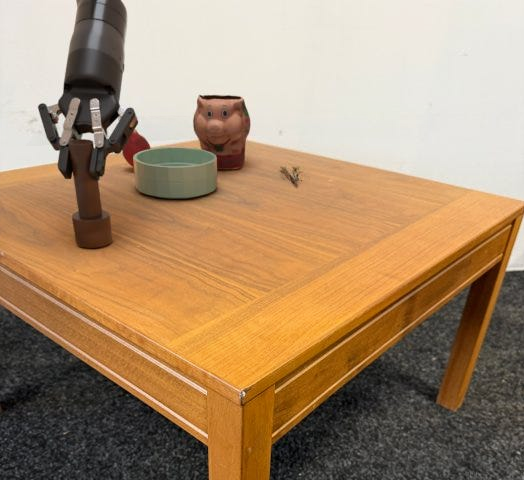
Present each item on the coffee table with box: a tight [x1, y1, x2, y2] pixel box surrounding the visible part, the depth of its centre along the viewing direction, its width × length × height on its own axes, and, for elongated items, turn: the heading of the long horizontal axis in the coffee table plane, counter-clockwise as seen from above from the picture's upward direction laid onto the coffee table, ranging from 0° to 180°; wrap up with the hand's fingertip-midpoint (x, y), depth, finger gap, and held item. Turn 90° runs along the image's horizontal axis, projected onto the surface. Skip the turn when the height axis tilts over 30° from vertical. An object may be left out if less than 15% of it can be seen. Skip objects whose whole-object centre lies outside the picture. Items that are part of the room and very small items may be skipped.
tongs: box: [279, 165, 301, 189], centre depth 113 cm, size 4×13×2 cm, turn 8°
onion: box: [121, 128, 152, 168], centre depth 113 cm, size 6×6×8 cm
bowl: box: [133, 146, 218, 200], centre depth 103 cm, size 15×15×6 cm
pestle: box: [68, 138, 113, 249], centre depth 77 cm, size 5×5×14 cm
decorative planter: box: [192, 94, 251, 170], centre depth 118 cm, size 20×12×14 cm, turn 3°
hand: (80, 176), depth 74 cm, fingers closed on pestle, 3 cm apart
